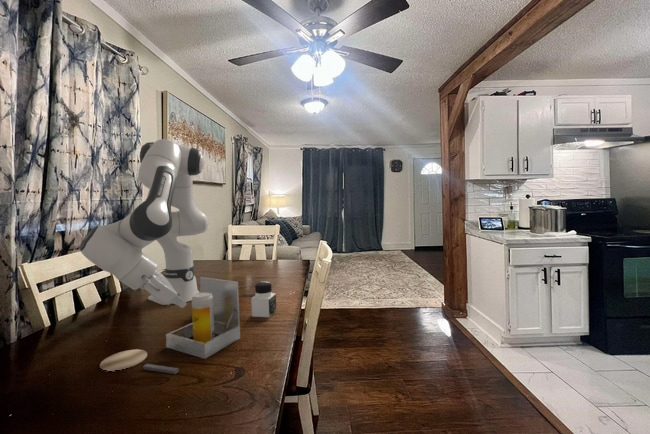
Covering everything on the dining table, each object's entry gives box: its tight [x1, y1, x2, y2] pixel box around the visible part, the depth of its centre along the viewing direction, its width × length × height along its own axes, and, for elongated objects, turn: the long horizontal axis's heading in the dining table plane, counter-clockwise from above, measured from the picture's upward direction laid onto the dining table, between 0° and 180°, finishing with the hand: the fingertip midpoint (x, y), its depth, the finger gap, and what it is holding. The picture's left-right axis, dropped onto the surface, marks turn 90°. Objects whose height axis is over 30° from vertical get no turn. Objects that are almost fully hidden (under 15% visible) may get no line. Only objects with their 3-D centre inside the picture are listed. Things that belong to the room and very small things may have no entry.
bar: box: [142, 363, 180, 375], centre depth 81 cm, size 10×1×1 cm, turn 75°
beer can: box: [191, 292, 216, 343], centre depth 96 cm, size 6×6×15 cm
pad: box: [99, 348, 148, 372], centre depth 86 cm, size 11×11×1 cm
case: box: [165, 276, 241, 359], centre depth 96 cm, size 16×14×18 cm
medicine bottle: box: [250, 281, 277, 318], centre depth 119 cm, size 7×7×12 cm
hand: (181, 300), depth 92 cm, fingers open, 8 cm apart
